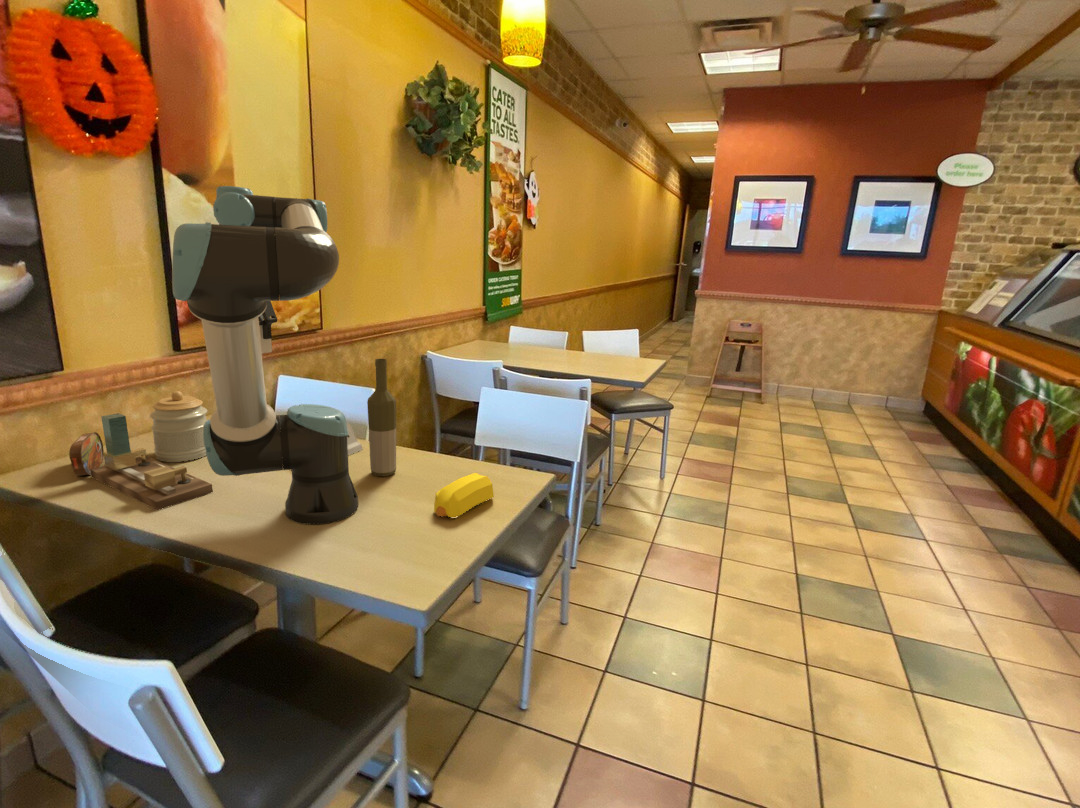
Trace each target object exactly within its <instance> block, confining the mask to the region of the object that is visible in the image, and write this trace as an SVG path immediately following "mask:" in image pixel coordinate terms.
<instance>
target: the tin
mask: <svg viewBox="0 0 1080 808" xmlns="http://www.w3.org/2000/svg"><path fill="white" fill-rule="evenodd" d="M103 452H105V451H104V445H103V440H102V438H101V436H100V434H99V432H98V431H97V432H96V431H94V432H93V431H92V432H89V433H88V432H87V433H83V434H81V435H80V436H79V437H78V438H77V439H76V440H74V442H73V443H72V444H71V445H70V448H69V452H68V453H69V460H70V463H71V466H72V467H71V468H72V472H73V473H74V475H76V476H78V477H81V476H83V477H84V476H91V470H90V469H94V468H98V467H101V465H102V463H103V462H104V454H103ZM100 464H101V465H100Z"/></svg>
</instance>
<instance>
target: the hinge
mask: <svg viewBox="0 0 1080 808" xmlns="http://www.w3.org/2000/svg"><path fill="white" fill-rule="evenodd" d="M346 424H347V430H348V435H347V446H348V455H350V456H352V455H354V454H353V453H355V454H357V453H359V452H362V451H363V450H364V448H363V445H362V444H361V442H359V441H358V440H357V436H356V435H355V433H354V430H353V428H352V425H351V424H350V423H348V422H346ZM361 450H362V451H361ZM358 451H359V452H358ZM356 452H357V453H356ZM351 454H352V455H351Z"/></svg>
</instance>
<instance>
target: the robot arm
mask: <svg viewBox="0 0 1080 808" xmlns="http://www.w3.org/2000/svg"><path fill="white" fill-rule="evenodd" d="M215 191H216V197H215V200H214V202H213V207H212V208H213V209H212V210H213V217H214V218H215V219H216V220H215V221H216V222H217V223H218V224H217V223H216V224H215V223H211V222H205V223H190V222H189V223H187V222H186V223H182V224H180V225H179V226H177V228H175V231H174V235H173V245H172V258H171V259H172V260H171V261H172V263H171V265H172V266H171V267H172V268H171V269H172V270H171V276H172V277H171V278H172V279H171V282H172V283H171V285H172V294H173V298H174V299H175V300H177V301H181V302H187V308H188V310H189V311H190V313H191V314H192V315H193V316H194V317H196V318H198V319H199V320H201V325H202V331H203V337H204V342H205V349H206V355H207V359H208V366H209V371H210V378H211V383H212V388H213V395H214V401H215V407H216V409H215V410H214V411H213V413H212V414H211V417H210V419H207V420H208V421H206V422H205V424H204V428H203V438H204V445H205V449H206V456H205V457H206V459H207V462H208V464H209V466H210V468H211V470H212V471H213V472H214V473H215V474H216V475H218V476H222V477H223V476H224V477H225V476H228V477H229V476H235V477H237V476H238V477H239V476H242V475H243V476H245V475H251V474H261V473H269V472H279V471H287V470H291V481H290V482H291V483H290V486H289V490H288V494H287V498H286V500H285V503H284V504H285V505H284V507H285V516H286V517H287V518H288V519H289V520H290V521H292V522H295V523H298V524H304V525H325V524H330V523H334V521H335V522H339V521H341V519H342V520H344V519H346V517H347V518H349V517H351V516H352V515H353V514H355V513H356V512H357V510H358V509H359V497H358V493H357V491H356V488H355V485H354V483H353V481H352V479H351V476H350V472H349V468H350V467H349V456H348V446H347V435H348V430H347V424H348V423H347V418H346V415H345V414H344V412H342V411H341V410H339V409H338V408H336V407H331V406H327V405H321V404H313V403H312V404H307V403H306V404H302V403H301V404H299V405H292V406H290V407H289V408H288V409H287V411H286V414H276V412H275V410H274V409H273V407H271V405H269V404H267V396H266V384H265V374H264V363H263V354H267V353H268V354H269V353H273V346H272V338H273V337H272V334H273V333H272V325H273V324H275V323H278V317H277V315H276V312H275V310H274V307H273V305H272V302H281V301H282V302H283V301H294V300H300V299H303V298H305V297H309V296H311V295H313V294H315V293H317V292H319V291H321V290H322V289H323V288H324V287H325V286H326V285H328V284H329V283H330V282H331V280H332V279H333V278H334V276H335V275H336V273H337V271H338V268H339V265H340V255H339V253H340V252H339V250H338V247H337V245H336V243H335V241H334V239H333V238H332V237H331V235H329V234H328V233H327V231H328V211H327V206H326V203H325V201H322V200H318V199H312V198H299V197H298V198H293V197H279V196H268V195H259V194H254V192H253V191H252V190H251V189H250V188H248V187H247V188H246V187H244V186H243V187H241V186H232V185H221V186H217V188H216V190H215ZM346 423H347V424H346ZM357 508H358V509H357ZM355 511H356V512H355ZM354 512H355V513H354ZM352 513H353V514H352ZM351 514H352V515H351ZM348 516H349V517H348ZM343 518H344V519H343ZM338 520H339V521H338Z"/></svg>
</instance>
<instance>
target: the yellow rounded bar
mask: <svg viewBox="0 0 1080 808" xmlns="http://www.w3.org/2000/svg"><path fill="white" fill-rule="evenodd" d="M490 498H491V499H493V498H494V488H493V483H492V481H491V479H490V478H489V477H488V476H487V475H481V474H479V473H477V472H473V473H471V474H468V475H465V476H462V477H459V478H458V479H456V480H454V481H452V482H450V483H448V484H447V485H445V486H444V487H442V488H440V489H439V490H438V491H437V492H436V493H435V499H434V505H433V511H434V512H436V513H435V514H436V515H437V517H439V516H441V517H440V518H444V517H443V516H445V517H448V518H449V517H456V516H459V517H461V516H462V515H464V514H466V513H467V512H468V511H469V509H470V510H471V509H473V508H475V507H474V506H476V505H478V504H480V503H482V502H484V501H486V500H488V499H490ZM491 499H490V500H491ZM482 504H483V503H482ZM480 505H481V504H480ZM478 506H479V505H478ZM472 507H473V508H472ZM476 507H477V506H476ZM466 511H467V512H466ZM434 512H433V513H434ZM463 513H464V514H463ZM461 514H462V515H461ZM460 515H461V516H460Z"/></svg>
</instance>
